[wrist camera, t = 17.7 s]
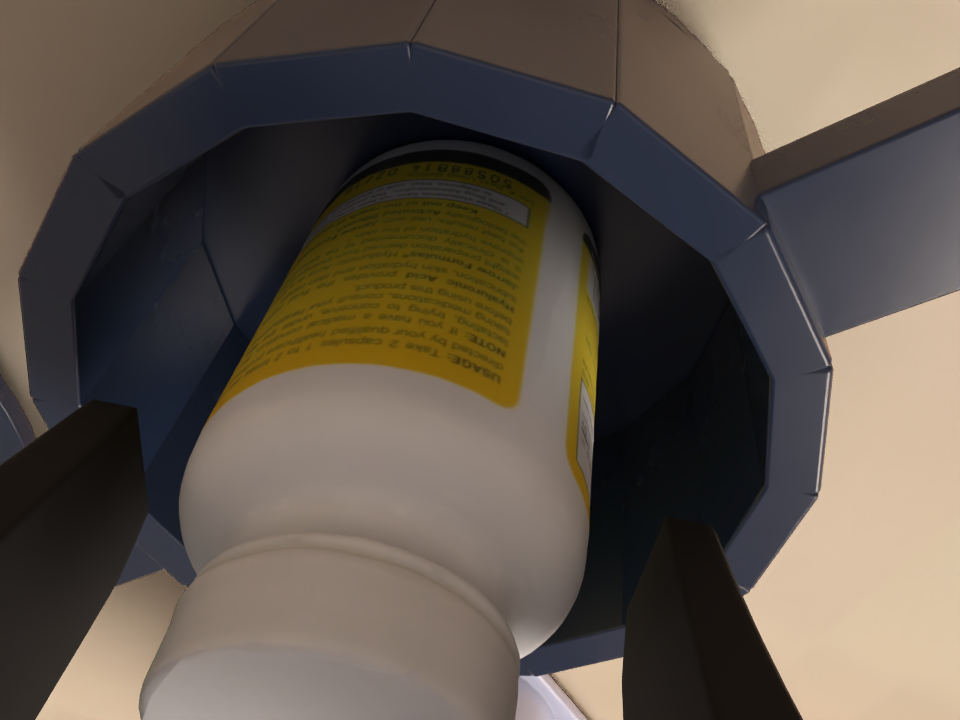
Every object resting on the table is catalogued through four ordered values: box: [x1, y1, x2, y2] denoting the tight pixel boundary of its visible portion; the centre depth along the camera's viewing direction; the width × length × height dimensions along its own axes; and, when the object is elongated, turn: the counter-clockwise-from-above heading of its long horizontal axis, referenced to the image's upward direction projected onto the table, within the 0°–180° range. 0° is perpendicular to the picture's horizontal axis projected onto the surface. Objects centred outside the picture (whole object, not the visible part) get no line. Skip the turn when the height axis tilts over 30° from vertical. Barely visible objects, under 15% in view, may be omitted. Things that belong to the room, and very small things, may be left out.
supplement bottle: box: [139, 140, 601, 720], centre depth 13 cm, size 5×5×10 cm
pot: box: [18, 0, 960, 677], centre depth 15 cm, size 12×17×6 cm
